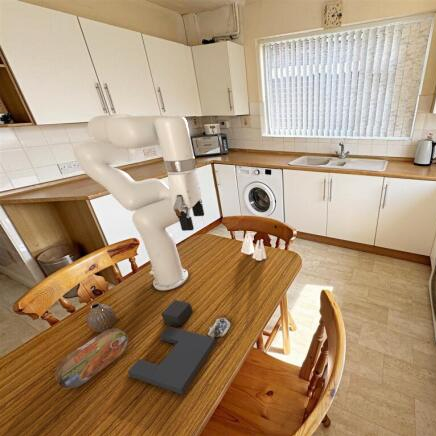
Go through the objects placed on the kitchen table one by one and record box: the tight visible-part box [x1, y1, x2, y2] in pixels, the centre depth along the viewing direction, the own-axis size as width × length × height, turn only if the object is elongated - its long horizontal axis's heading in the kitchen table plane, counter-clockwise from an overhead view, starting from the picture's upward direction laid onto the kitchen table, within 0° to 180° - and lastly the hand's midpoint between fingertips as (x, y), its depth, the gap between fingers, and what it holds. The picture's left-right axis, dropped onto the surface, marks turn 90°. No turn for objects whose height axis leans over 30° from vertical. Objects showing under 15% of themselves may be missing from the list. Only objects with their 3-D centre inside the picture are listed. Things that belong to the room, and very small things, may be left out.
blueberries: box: [206, 317, 232, 339], centre depth 72 cm, size 7×8×2 cm
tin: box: [54, 328, 129, 389], centre depth 61 cm, size 15×3×8 cm, turn 148°
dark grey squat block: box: [161, 299, 193, 327], centre depth 76 cm, size 6×6×4 cm
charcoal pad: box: [127, 325, 217, 396], centre depth 63 cm, size 16×14×2 cm
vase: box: [85, 302, 117, 333], centre depth 72 cm, size 7×7×9 cm
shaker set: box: [240, 233, 267, 261], centre depth 105 cm, size 12×4×11 cm, turn 58°
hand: (194, 222), depth 71 cm, fingers open, 9 cm apart
